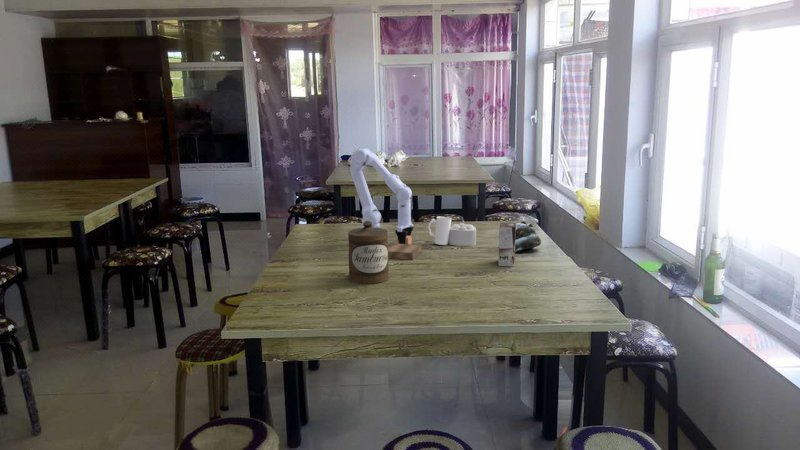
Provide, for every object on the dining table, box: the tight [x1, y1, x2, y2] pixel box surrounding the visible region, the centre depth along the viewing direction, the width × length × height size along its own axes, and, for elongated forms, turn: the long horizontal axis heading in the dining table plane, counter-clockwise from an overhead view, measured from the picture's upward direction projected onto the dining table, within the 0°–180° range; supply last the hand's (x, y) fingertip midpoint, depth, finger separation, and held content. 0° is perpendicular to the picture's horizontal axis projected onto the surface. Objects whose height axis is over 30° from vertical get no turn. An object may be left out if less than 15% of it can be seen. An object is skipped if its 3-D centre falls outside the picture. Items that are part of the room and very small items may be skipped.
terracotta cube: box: [397, 235, 413, 245], centre depth 287 cm, size 5×5×5 cm
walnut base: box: [388, 242, 423, 261], centre depth 275 cm, size 14×14×3 cm
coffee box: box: [498, 222, 517, 267], centre depth 259 cm, size 9×6×16 cm
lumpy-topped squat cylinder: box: [448, 222, 477, 247], centre depth 293 cm, size 10×13×9 cm
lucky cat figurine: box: [515, 220, 542, 254], centre depth 281 cm, size 15×12×14 cm
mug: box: [427, 215, 453, 246], centre depth 292 cm, size 10×7×12 cm, turn 80°
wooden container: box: [347, 221, 390, 285], centre depth 239 cm, size 15×15×22 cm
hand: (404, 244), depth 288 cm, fingers open, 6 cm apart
